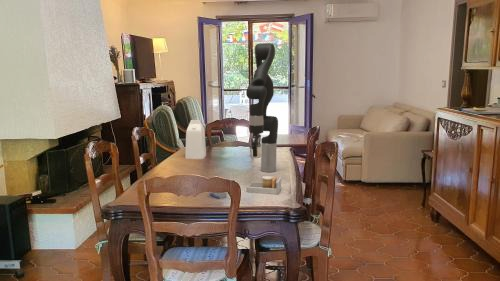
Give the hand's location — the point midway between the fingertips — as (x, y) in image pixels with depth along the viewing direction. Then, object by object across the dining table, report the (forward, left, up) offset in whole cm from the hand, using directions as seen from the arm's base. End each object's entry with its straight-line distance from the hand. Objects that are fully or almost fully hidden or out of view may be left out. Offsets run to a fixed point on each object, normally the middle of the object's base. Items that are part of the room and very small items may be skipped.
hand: (256, 155), depth 212 cm
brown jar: (+12, +8, -15) cm, 21 cm away
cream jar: (0, 0, -1) cm, 1 cm away
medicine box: (+27, -13, -16) cm, 33 cm away
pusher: (+12, +12, -15) cm, 22 cm away
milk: (-53, -54, -15) cm, 78 cm away
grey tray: (+12, +6, -15) cm, 20 cm away
